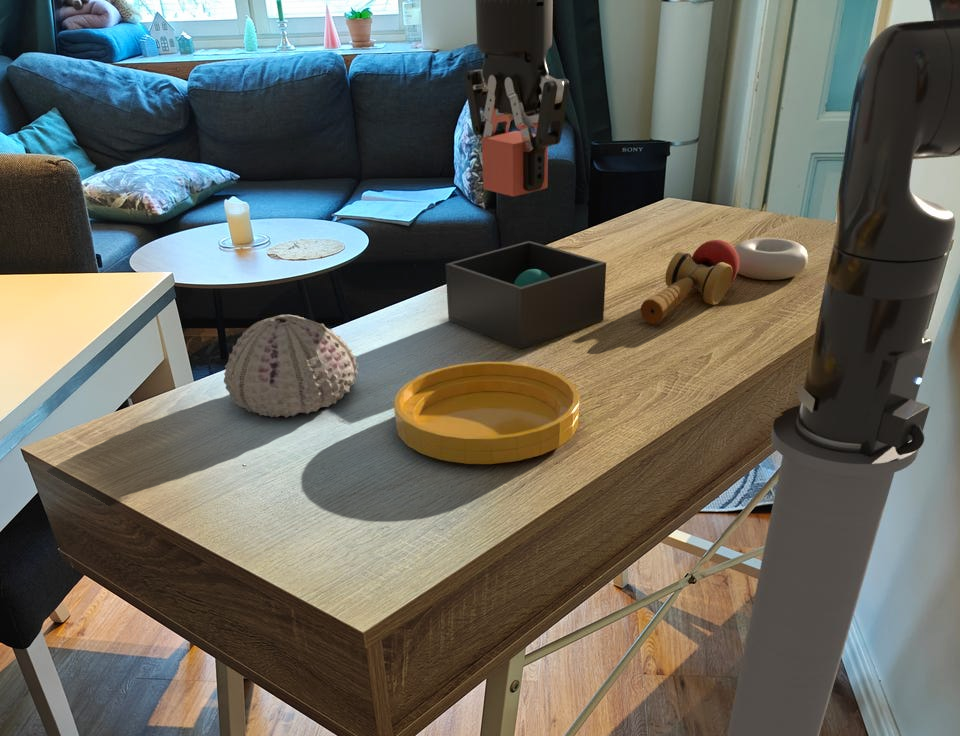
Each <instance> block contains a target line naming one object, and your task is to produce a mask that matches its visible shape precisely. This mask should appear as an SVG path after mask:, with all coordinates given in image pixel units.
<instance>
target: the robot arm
mask: <svg viewBox="0 0 960 736" xmlns="http://www.w3.org/2000/svg"><path fill="white" fill-rule="evenodd" d="M928 1H929V4H930V8H931V15H932V19H933V20H919V21H917V20H916V21H907V22H906V21H905V22H900V23H899V22H898V23H895V24H892V25H890V26H887V27H886V28H884V29H883V30H882V31H881V32H880V33H879V34H877V36H876V37H875V38H874V40H873V41H872V43H871V44H870V45H869V47H868V49H867V51H866V53H865V55H864V57H863V60H862V62H861V65H860V68H859V70H858V74H857V78H856V82H855V86H854V90H853V94H852V100H851V107H850V112H849V118H848V127H847V133H846V140H845V147H844V153H843V160H842V168H841V172H840V179H839V184H838V192H837V198H836V229H835V234H834V238H833V239H834V240H833V244H832V248H831V254H830V259H829V264H828V268H827V273H826V279H825V282H824V287H823V293H822V298H821V303H820V308H819V313H818V317H817V321H816V327H815V331H814V336H813V342H812V346H811V352H810V355H809V361H808V366H807V370H806V371H807V372H806V376H805V380H804V385H803V386H802V384H799V385H798V390H797V396H796V398H797V400H799V402H800V404H799V405H800V408H799V410H800V411H799V413H798V416H797V420H796V425H795V428H796V431H797V433H798V434H799V435H800V436H801V437H802V438H803V439H805V440H806V441H808V442H810V443H812V444H814V445H817V446H819V447H822V448H825V449H829V450H834V451H839V452H847V453H859V454H863V455H866V456H869V457H872V456H874V455H876V454H877V453H879V452H881V451H882V450H884V449H886V448H888V447H890V446H892V447H895V449H896V452H897V454H898V455H903V454H907V453H911V452H914V451H916V450H918V449H919V450H920V449H921V448H922V446H923V444H924V442H925V434H924V430H925V429H924V428H925V424H926V423H927V419H928V415H929V412H930V408H931V405H929V404H926V403H923V402H920V401H916V400H917V398H918V395H919V390H920V387H921V383H922V381H923V377H924V373H925V370H926V366H927V363H928V359H929V356H930V353H931V348H932V346H933V345H932V344H933V342H932V340H931V339H930V338H926V337H925V336H926V332H927V328H928V325H929V321H930V318H931V314H932V310H933V307H934V303H935V300H936V296H937V292H938V289H939V285H940V283H941V278H942V275H943V271H944V268H945V264H946V261H947V257H948V253H949V251H950V249H951V248H950V247H951V244H952V241H953V237H954V233H955V229H956V218H955V216H954V214H953V212H952V211H951V210H949V209H948V208H946V207H944V206H942V205H940V204H937V203H935V202H933V201H930V200H927V199H923V198H921V197H918V196H916V195H915V194H914V193H913V192H912V191H911V176H912V168H913V161H914V160H923V159H924V160H925V159H937V158H950V157H959V156H960V0H928ZM553 2H554V0H475V26H476V28H475V29H476V48H477V50H478V52H479V53H481V54H484V59H483V64H482V68H479V69H474V70H466V71H464V72H465V73H464V75H463V81H464V85H465V91H466V92H465V93H466V99H467V104H468V110H469V116H470V117H469V118H470V122H471V129H472V132H473V133H472V134H474V135H475V136H480V137H482V138H484V137H489V136H494V135H499V134H504V133H509V132H510V131H509V130H510V125H511V122H512V121H514V125H515V127H516V129H518V130H519V131H520V132H521V136H522V141H523V145H524V149H525V151H526V152H523V188H524V190H526V191H534V190H538V189H541V187H542V185H543V182H544V166H545V150H546V148H547V147H548V148H549V147H551V146H555V145H559V144H560V143H561V140H562V139H561V138H562V134H563V128H564V123H565V122H564V121H565V116H566V111H567V105H568V104H567V103H568V98H569V92H570V81H569V79H567V78H559V79H558V78H555V77H554V76H551V74H550V75H549V69H548V65H547V61H546V56H547V53H548V51H549V50H550V49H551V48H552V47H553V46H552V45H553V10H554V9H553V8H554V6H553V4H554V3H553ZM481 109H482V110H483V118H484V120H482V116H481V115H482V114H481ZM533 112H534V114H533ZM529 114H533V115H529ZM532 127H533V128H534V132H535V133H533V129H532ZM549 129H550V131H549ZM533 134H536V136H535V137H533ZM538 191H539V190H538ZM534 192H535V191H534ZM911 440H912V441H911ZM909 441H911V442H909ZM907 442H908V443H907ZM919 450H918V451H919Z"/></svg>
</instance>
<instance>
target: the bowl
mask: <svg viewBox="0 0 960 736" xmlns="http://www.w3.org/2000/svg"><path fill="white" fill-rule="evenodd" d="M393 411H394V420H395V421H394V422H395V428H396V432H397V436H398V437H399V438H400V440H402V442H403V443H404V444H405V445H406V446H407V447H409V448H410V449H412V450H414V451H416V452H418V453H419V454H422V455H424V456H426V457H430V458H433V459H437V460H440V461H445V462H451V463H459V464H466V465H494V464H496V465H497V464H503V463H511V462H512V463H513V462H517V461H518V462H519V461H523V460H527V459H532V458H534V457H538V456H542V455H544V454H547V453H549V452H552V451H553V450H555V449H556V450H557V449H558V448H560V447H561V446H563V445H564V444H565V443H566V442H568V441H569V440H571V439H572V437H573V436H574V434H575V433H576V432H577V430H578V428H579V421H580V420H579V419H580V418H579V417H580V392H579V390H578V388H577V387H576V385H575V384H574V382H572V381H571V380H569V379H568V378H566V377H565V376H563V374H560V373H558V372H555V371H552V370H551V369H547V368H544V367H541V366H537V365H531V364H527V363H522V362H521V363H520V362H510V361H478V362H468V363H460V364H458V363H457V364H453V365H450V366H444V367H439V368H437V369H433V370H431V371H428V372H425V373H422V374H420V375H418V376H416V377H415V378H413V379H411V380H409V381H408V382H406V383H405V384H404V385H403V386H402V387H401V388H400V389H399V390H398V391H397V393H396V395H395V398H394V399H393Z"/></svg>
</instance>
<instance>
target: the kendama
mask: <svg viewBox="0 0 960 736" xmlns="http://www.w3.org/2000/svg"><path fill="white" fill-rule="evenodd" d="M734 247H735V246H733V245H732V244H731V243H730V242H728V241H726V240H723V239H711V240H708V241H705V242H703V243H702V244H700V246H698V247H696V249H695V251H694V252H693V254H692V255H691V253H690V252H688V251H684V250H679V251H677V252H676V253H675V254H674V255H673V256H672V257H671V259H670V261H669V263H668V265H667V268H666V272H665V276H664V277H665V285H666V286H667V287H665V288H664V289H662V290H661V291H659V292H657V293H656V294H654V295H653V296H651V297H648V298H647V299H646V300H644V301H643V302H642V303H641V305H640V315H641V317H642V319H643V320H644V321H645V322H646V323H647V324H649V325H651V326H652V325H658V324H659V323H661V322H662V321H663V320H664V318H666V316H667V315H668V314H669V313H670V312H672V311H673V310H674V309H675V308H676V307H677V306H678V305H679V304H680V303H681V302H682V301H683V300H684V299H685V298H686V297H687V296H688V294H689V293H690V292H691V291H692V290H693V289H695V290H696V291H699V292H700V294H701V296H702V298H703V302H705V303H706V304H710V305H713V306H715V305H718V304H719V303H720V302H721V301H722V300H723V299H724V297H725V295H726V294H727V293H728V290H729V288H730V287H731V283H732V282H733V281H734V280H735V278H736V277H737V275H738V273H737V272H738V269H739V257H738V254H737V251H736V250H735V248H734Z"/></svg>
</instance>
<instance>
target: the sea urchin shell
mask: <svg viewBox="0 0 960 736" xmlns="http://www.w3.org/2000/svg"><path fill="white" fill-rule="evenodd" d="M356 359H357V356H356V355H354V353H353V351H352V349H351V348H349V346H348V344H347V343H346V342H345V341H344V340H343V339H342V337H341V336H340V335H338V334H336V333H335V332H334V331H333V329H332V328H328V327H326V326H325V324H324V323H319V322H317V321H315V320H312V319H307V318H304V316H302V317H301V316H299V315H293V314H280V315H275V316H272V317H268V318H265V319H262V320H260V321H259V320H258V321H257V322H255V323H253V324H252V325H250V326H249V327H248V328H247V329H246V330H245V331H243V332H242V334H241V336H240V337H238V338H237V341H236V344H235V345H232V351H231V353H229V354H228V360H227V363H226V364H225V365H224V368H225V371H224V372H223V374H224V378H223V383H224V384H225V390H226V391H227V392H228V393H229V397H230V398H231V399H232V402H233V403H235V404H237V406H238V408H244V409H245V410H246V411H248V412H249V413H251V412H253V413H257V414H259V415H260V416H264V417H266V416H267V417H268V416H269V417H270V418H273V417H275V418H279V417H280V416H282V417H285V418H289V417H290V416H291V417H295V416H297V415H298V414H306V415H308V414H309V413H311V412H318V410H319V409H320V408H329V407H330V406H332V405H334V404H336V403H337V401H338V400H342V399H343V398H344V395H345V394H348V393H350V389H351V386H352V385H353V384H354V383H356V377H357V376H358V375H359V373H358V370H357V368H358V367H359V364H358V363H357V362H356Z"/></svg>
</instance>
